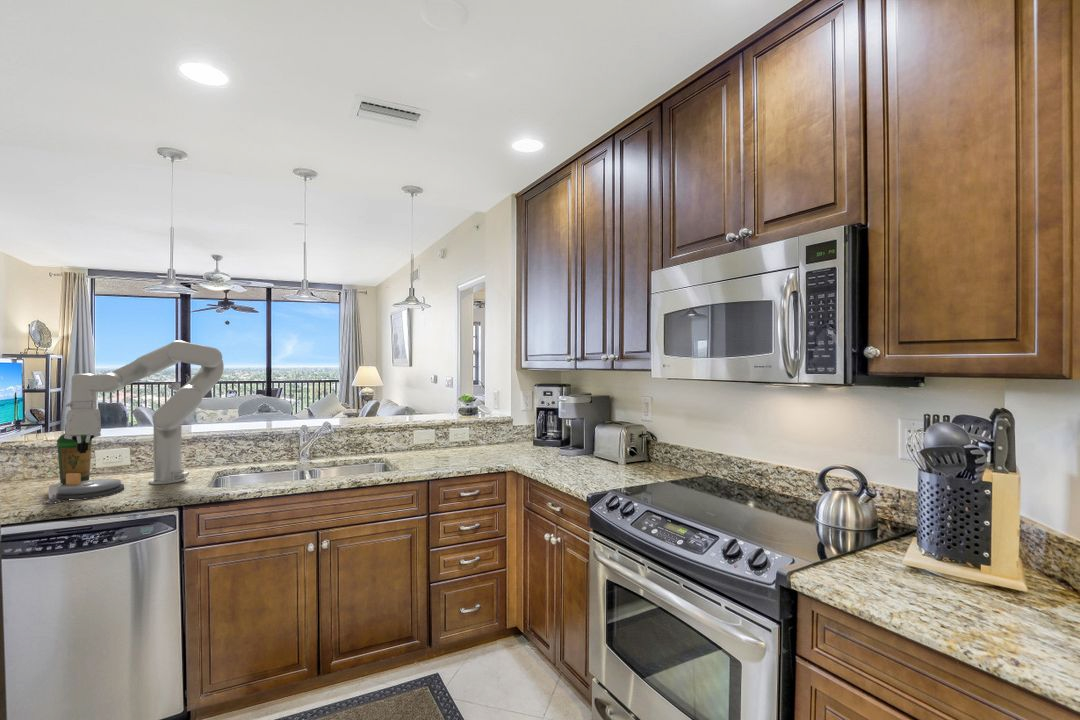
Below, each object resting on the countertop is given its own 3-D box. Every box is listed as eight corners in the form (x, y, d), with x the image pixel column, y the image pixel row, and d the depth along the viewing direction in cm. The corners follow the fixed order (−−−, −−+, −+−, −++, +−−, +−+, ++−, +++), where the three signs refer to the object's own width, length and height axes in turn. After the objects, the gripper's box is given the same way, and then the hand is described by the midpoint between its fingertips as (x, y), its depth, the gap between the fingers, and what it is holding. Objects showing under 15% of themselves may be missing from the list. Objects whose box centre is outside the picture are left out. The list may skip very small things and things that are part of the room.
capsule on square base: (52, 504, 183) (52, 486, 183) (42, 504, 184) (42, 486, 184) (66, 500, 188) (66, 483, 188) (56, 500, 188) (56, 482, 188)
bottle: (71, 489, 205) (71, 417, 205) (49, 487, 207) (49, 417, 207) (99, 482, 215) (98, 414, 215) (78, 481, 218) (78, 414, 218)
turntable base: (138, 487, 208) (138, 483, 208) (86, 501, 187) (86, 497, 187) (90, 485, 210) (90, 482, 210) (34, 499, 189) (34, 495, 189)
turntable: (133, 483, 207) (133, 469, 207) (87, 495, 188) (86, 480, 188) (90, 482, 209) (90, 468, 209) (40, 494, 190) (39, 479, 190)
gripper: (59, 407, 194) (58, 456, 194) (110, 405, 206) (109, 451, 206) (55, 405, 199) (54, 454, 199) (105, 404, 211) (104, 449, 211)
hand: (82, 452), depth 202 cm, fingers closed
